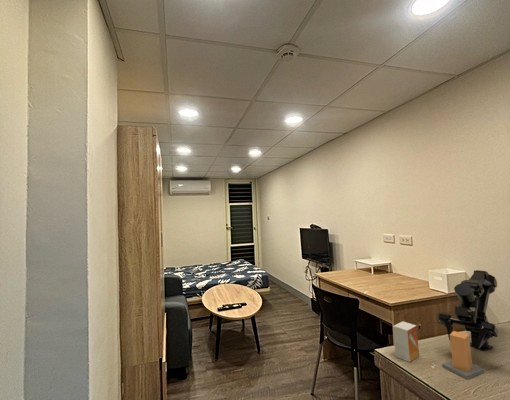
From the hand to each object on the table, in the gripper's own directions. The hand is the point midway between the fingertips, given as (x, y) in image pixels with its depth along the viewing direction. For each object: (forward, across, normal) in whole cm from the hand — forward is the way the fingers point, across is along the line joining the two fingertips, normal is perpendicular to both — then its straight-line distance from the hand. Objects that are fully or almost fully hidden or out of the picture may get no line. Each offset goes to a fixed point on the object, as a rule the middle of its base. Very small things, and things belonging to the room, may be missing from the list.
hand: (463, 344), depth 106 cm
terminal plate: (+9, 0, +3) cm, 9 cm away
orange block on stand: (+8, 0, +2) cm, 8 cm away
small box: (+12, -18, 0) cm, 22 cm away
